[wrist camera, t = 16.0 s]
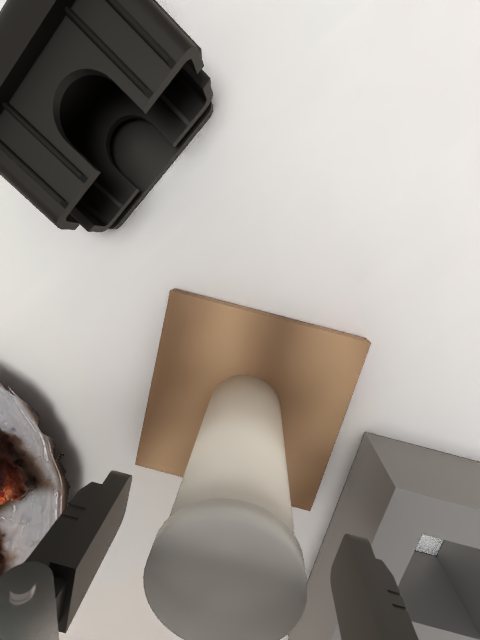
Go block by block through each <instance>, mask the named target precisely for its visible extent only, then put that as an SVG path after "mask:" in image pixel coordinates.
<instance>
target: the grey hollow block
mask: <svg viewBox="0 0 480 640" xmlns="http://www.w3.org/2000/svg"><path fill="white" fill-rule="evenodd" d="M345 534H351V535H354V536H358V537H362V538H366V539H368V540H369V542H370V544H371V547H372V550H373V552H374V555H375V558H376V559H380V560H382V561H383V562H384V564H385V565H386V566H387V568H388V569H389V571H390V572H391V573H392V575H393V576H394V579H395V581H396V584H397V586H398V589H399V591H400V596H401V597H402V599H403V601H404V604H405V606H406V611H408V614H409V617H410V619H411V622H412V624H413V627H414V629H415V632H416V634H417V637H418V639H419V640H480V462H477V461H473V460H470V459H466V458H462V457H458V456H454V455H451V454H447V453H443V452H439V451H435V450H432V449H428V448H424V447H420V446H416V445H413V444H409V443H405V442H401V441H397V440H394V439H390V438H386V437H382V436H378V435H374V434H371V433H367V432H365V434H364V436H363V439H362V441H361V444H360V447H359V449H358V452H357V454H356V457H355V460H354V462H353V465H352V467H351V470H350V473H349V475H348V478H347V480H346V483H345V486H344V488H343V491H342V494H341V496H340V499H339V501H338V504H337V507H336V509H335V512H334V514H333V517H332V520H331V522H330V525H329V527H328V530H327V533H326V535H325V538H324V540H323V543H322V546H321V548H320V551H319V554H318V556H317V559H316V561H315V564H314V567H313V569H312V572H311V574H310V577H309V580H308V582H307V602H306V606H305V609H304V612H303V614H302V616H301V618H300V620H299V621H298V623H297V624H296V626H295V627H294V628H293V629H292V630H291V631H290V632H289V633H288V637H289V640H341V635H340V630H339V625H338V620H337V615H336V610H335V605H334V600H333V595H332V590H331V583H330V574H331V567H332V564H333V561H334V559H335V556H336V554H337V551H338V549H339V546H340V544H341V541H342V539H343V537H344V535H345ZM422 534H424V535H428V536H432V537H435V538H439V539H443V540H444V542H443V544H442V546H441V548H440V550H439V552H438V554H437V556H432V555H429V554H425V553H421V552H417V551H415V549H416V547H417V544H418V542H419V540H420V538H421V536H422Z"/></svg>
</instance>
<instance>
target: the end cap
mask: <svg viewBox="0 0 480 640" xmlns="http://www.w3.org/2000/svg"><path fill="white" fill-rule="evenodd" d="M203 66H204V64H203V61H202V51H201V48H200V47H199V46H198V45H197V44H196V43H195V42H194V41H193V40H192V39H191V38H190V36H189V35H188V34H187V33H186V32H185V31H184V30H183V29H182V28H181V27H180V26H179V25H178V24H177V23H176V22H175V21H174V20H173V18H172V17H171V16H170V15H169V14H168V13H167V12H166V11H165V10H164V9H163V8H162V7H161V6H160V5H159V4H158V3H157V2H156V0H7V1H6V3H5V4H4V6H3V8H2V9H1V11H0V175H1V176H2V177H4V178H5V179H6V180H7V181H8V182H9V183H10V184H11V185H12V186H13V187H14V188H16V189H17V190H18V191H19V192H20V193H21V194H22V195H23V196H24V197H25V198H26V199H27V200H29V201H30V202H31V203H32V204H33V205H34V206H35V207H36V208H37V209H38V210H39V211H41V212H42V213H43V214H44V215H45V216H46V217H47V218H48V219H49V220H50V221H51V222H52V223H54V224H55V225H56V226H57V227H58V228H60V229H71V230H75V229H76V228H77V227H78V226H79V224H80V225H81V226H82V227H83V228H85V229H86V230H87V231H88V232H103V231H105V230H107V229H117V228H119V227H120V226H121V225H122V224H123V223H124V222H125V220H126V219H127V218H128V217H129V215H130V214H131V213H132V212H133V211H134V209H135V208H136V207H137V206H138V204H139V203H140V202H141V201H142V200H143V198H144V197H145V196H146V195H147V194H148V192H149V191H150V190H151V189H152V187H153V186H154V185H155V184H156V183H157V181H158V180H159V179H160V178H161V176H162V175H163V174H164V173H165V172H166V170H167V169H168V168H169V167H170V165H171V164H172V163H173V162H174V161H175V159H176V158H177V157H178V156H179V155H180V153H181V152H182V151H183V150H184V148H185V147H186V146H187V145H188V144H189V142H190V141H191V140H192V139H193V137H194V136H195V135H196V134H197V133H198V131H199V130H200V129H201V128H202V126H203V125H204V124H205V123H206V122H207V120H208V119H209V118H210V117H211V115H212V112H213V105H212V102H211V100H212V96H213V92H212V89H211V81H210V77H209V76H208V75H207V74H206V73H205V72H204V71H203V70H202V68H203Z"/></svg>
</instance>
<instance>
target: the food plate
mask: <svg viewBox="0 0 480 640" xmlns="http://www.w3.org/2000/svg"><path fill="white" fill-rule="evenodd" d="M8 387H9V386H8ZM10 391H11V392H12V393H13V394H14V395H12V394H11V393H10ZM39 423H40V418H39V415H38V414H37V412H35V411H34V410H33V409H32V408H31V407H30V406H29V405H28V404H27V403H26V402H25V401H23V400H21V399H20V398H19V397H18V395H15V393H14V392H13V391H12V390H11V388H10V387H9V391H8V390H6V389H5V388H4V387H3V385H1V383H0V577H1V576H2V575H3V574H4V573H6V572H7V571H8V570H10V569H11V568H13V567H15V566H17V565H19V564H22V563H23V562H24V561H25V560H26V559H27V558H28V557H29V556H30V554H31V553H32V552H33V550H34V549H35V548H36V546H37V545H38V544H39V542H40V541H41V540H42V538H43V537H44V536H45V534H46V533H47V532H48V530H49V529H50V528H51V526H52V525H53V524H54V523H55V521H56V520H57V519H58V517H60V515H61V513H62V512H63V511H64V509H65V508H66V507H67V503H68V502H67V499H68V494H69V488H70V486H69V483H68V481H67V479H66V477H65V473H66V470H64V468H63V465H62V464H61V462H60V458H61V456H64V454H61V453H60V456H59V458H58V459H57V461H56V460H55V459H54V458H53V455H54V454H55V452H56V451H55V445H56V444H54V441H53V440H52V438H51V437H49V436H47V435H44V434H43V433H41V431H40V429H39V427H38V424H39Z"/></svg>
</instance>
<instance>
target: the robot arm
mask: <svg viewBox="0 0 480 640" xmlns="http://www.w3.org/2000/svg"><path fill="white" fill-rule="evenodd" d="M131 481H132V475H128V474H125V473H121V472H117V471H113V470H112V471H111V472H110V473H109V475H108V476H107V478H106V479H105V481H104V482H103V484H98V483H95V482H91V483H89V484H88V485H86V486H85V487H83V488H82V489H80V490H79V491H78V492H77V493H76V495H75V496H74V497H73V499H72V500H71V501H70V503H69V505H68V506H67V507H66V508H65V509H64V511H63V512H62V513H61V515H60V517H58V519H57V520H56V521H55V523H54V524H53V525H52V526H51V528H50V529H49V530H48V532H47V533H46V534H45V536H44V537H43V538H42V540H41V541H40V542H39V544H38V545H37V546H36V548H35V549H34V550H33V552H32V553H31V554H30V556H29V557H28V558H27V559H26V560H25V561H24V562H23V563H22V564H19V565H17V566H15V567H13V568H11V569H10V570H8V571H7V572H6V573H4V574H3V575H2V576H1V577H0V640H59V633H58V631H59V632H63V633H66V631H67V629H68V627H69V625H70V623H71V622H72V620H73V618H74V616H75V614H76V612H77V610H78V608H79V606H80V604H81V602H82V600H83V598H84V596H85V594H86V592H87V590H88V588H89V586H90V584H91V582H92V580H93V578H94V576H95V574H96V572H97V570H98V569H99V567H100V565H101V563H102V561H103V559H104V557H105V555H106V553H107V551H108V549H109V547H110V545H111V543H112V541H113V539H114V537H115V535H116V533H117V531H118V529H119V527H120V525H121V522H122V520H123V517H124V514H125V510H126V506H127V501H128V496H129V491H130V486H131ZM330 583H331V590H332V595H333V600H334V605H335V610H336V615H337V620H338V625H339V630H340V635H341V640H419V639H418V637H417V634H416V632H415V629H414V627H413V624H412V622H411V619H410V617H409V614H408V611H406V606H405V604H404V601H403V599H402V597H401V596H400V591H399V589H398V586H397V584H396V581H395V579H394V576H393V575H392V573H391V572H390V571H389V569H388V568H387V566H386V565H385V564H384V562H383V561H382V560H380V559H376V558H375V555H374V552H373V550H372V547H371V544H370V542H369V540H368V539H366V538H362V537H358V536H354V535H351V534H345V535H344V537H343V539H342V541H341V544H340V546H339V549H338V551H337V554H336V556H335V559H334V561H333V564H332V567H331V574H330Z"/></svg>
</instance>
